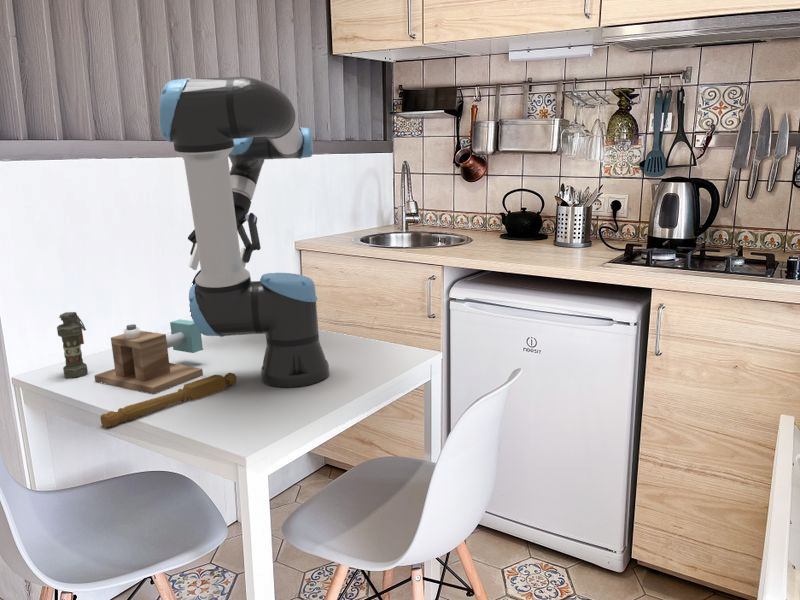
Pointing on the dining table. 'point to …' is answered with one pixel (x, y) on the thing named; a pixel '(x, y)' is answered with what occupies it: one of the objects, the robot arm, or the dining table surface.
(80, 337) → the grenade
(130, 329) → the dial
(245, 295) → the robot arm
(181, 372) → the mount
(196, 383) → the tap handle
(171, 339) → the teal piece
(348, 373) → the dining table surface
